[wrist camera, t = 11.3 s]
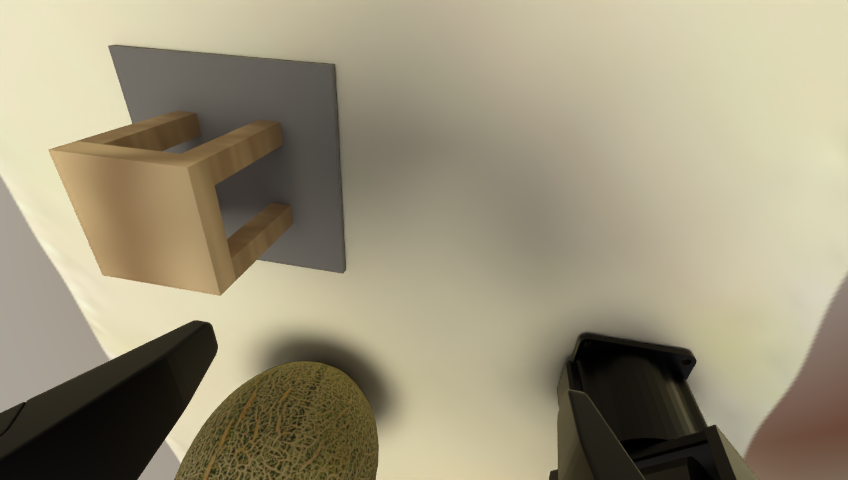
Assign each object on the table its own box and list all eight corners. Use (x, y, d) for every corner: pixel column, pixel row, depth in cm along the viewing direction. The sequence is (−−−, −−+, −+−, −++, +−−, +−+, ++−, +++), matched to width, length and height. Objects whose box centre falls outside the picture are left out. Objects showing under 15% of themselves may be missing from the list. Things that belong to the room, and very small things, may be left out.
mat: (334, 64, 19) (331, 65, 19) (345, 269, 25) (343, 273, 25) (114, 44, 21) (108, 45, 20) (175, 242, 27) (170, 245, 27)
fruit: (259, 404, 34) (112, 637, 22) (257, 308, 29) (53, 549, 16) (386, 444, 34) (311, 707, 21) (411, 353, 28) (327, 642, 15)
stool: (280, 121, 21) (187, 167, 15) (293, 223, 24) (220, 295, 18) (176, 110, 22) (48, 149, 16) (201, 210, 25) (102, 275, 19)
